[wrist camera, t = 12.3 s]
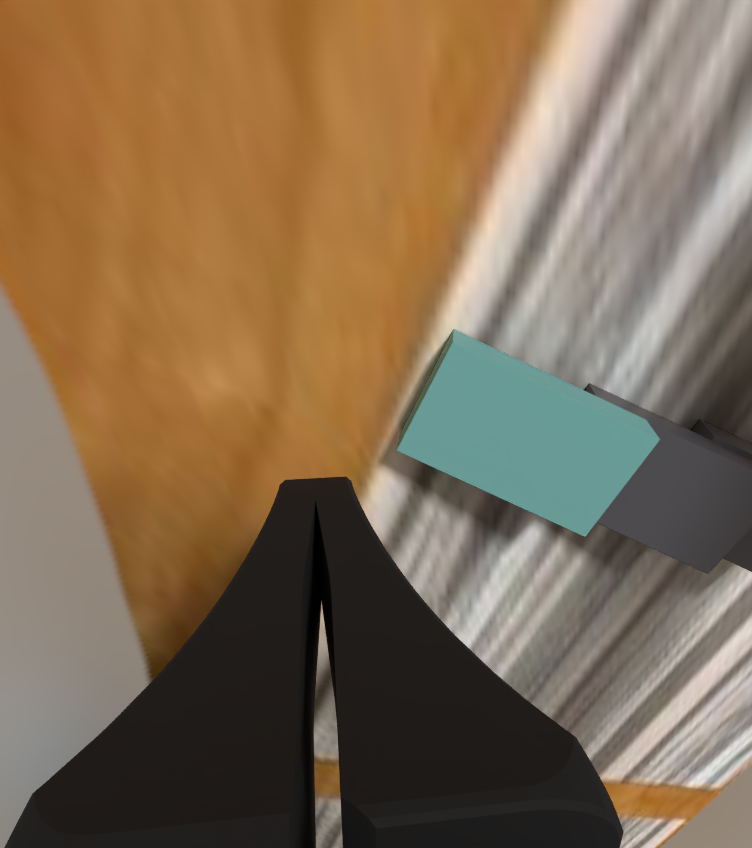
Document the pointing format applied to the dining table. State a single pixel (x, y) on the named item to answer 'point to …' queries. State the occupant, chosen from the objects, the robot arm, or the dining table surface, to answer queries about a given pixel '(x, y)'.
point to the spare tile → (524, 434)
